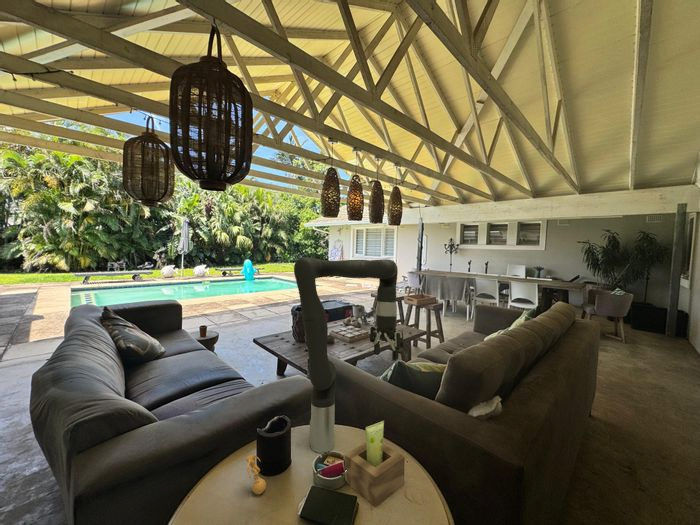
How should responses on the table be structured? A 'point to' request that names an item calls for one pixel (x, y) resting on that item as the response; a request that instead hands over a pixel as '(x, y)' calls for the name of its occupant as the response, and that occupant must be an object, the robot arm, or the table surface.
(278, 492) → the table surface
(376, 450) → the tube
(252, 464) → the figurine
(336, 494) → the table surface
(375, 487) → the box
